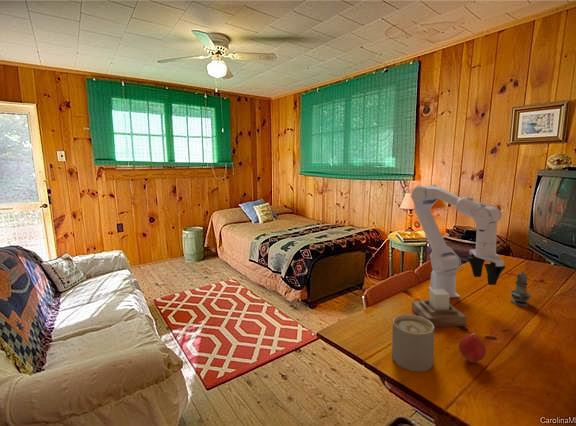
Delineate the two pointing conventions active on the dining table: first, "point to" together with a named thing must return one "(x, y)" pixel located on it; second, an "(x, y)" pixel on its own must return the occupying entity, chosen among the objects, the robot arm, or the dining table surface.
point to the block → (439, 299)
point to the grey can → (413, 342)
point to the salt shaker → (520, 291)
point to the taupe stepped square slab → (439, 314)
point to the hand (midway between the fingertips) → (484, 280)
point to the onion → (472, 348)
